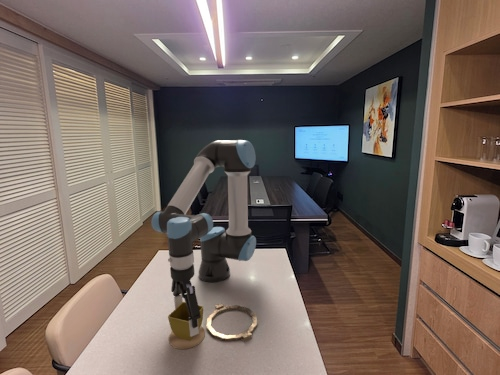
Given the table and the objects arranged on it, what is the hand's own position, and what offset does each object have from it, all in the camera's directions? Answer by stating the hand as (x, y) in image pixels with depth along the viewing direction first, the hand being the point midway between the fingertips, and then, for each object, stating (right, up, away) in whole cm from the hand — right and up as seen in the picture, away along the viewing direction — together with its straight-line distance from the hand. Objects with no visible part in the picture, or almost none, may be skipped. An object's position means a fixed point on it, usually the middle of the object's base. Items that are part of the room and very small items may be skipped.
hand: (186, 323), depth 96 cm
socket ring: (+15, -3, +7) cm, 17 cm away
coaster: (0, -5, +1) cm, 5 cm away
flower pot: (0, -4, +1) cm, 5 cm away
